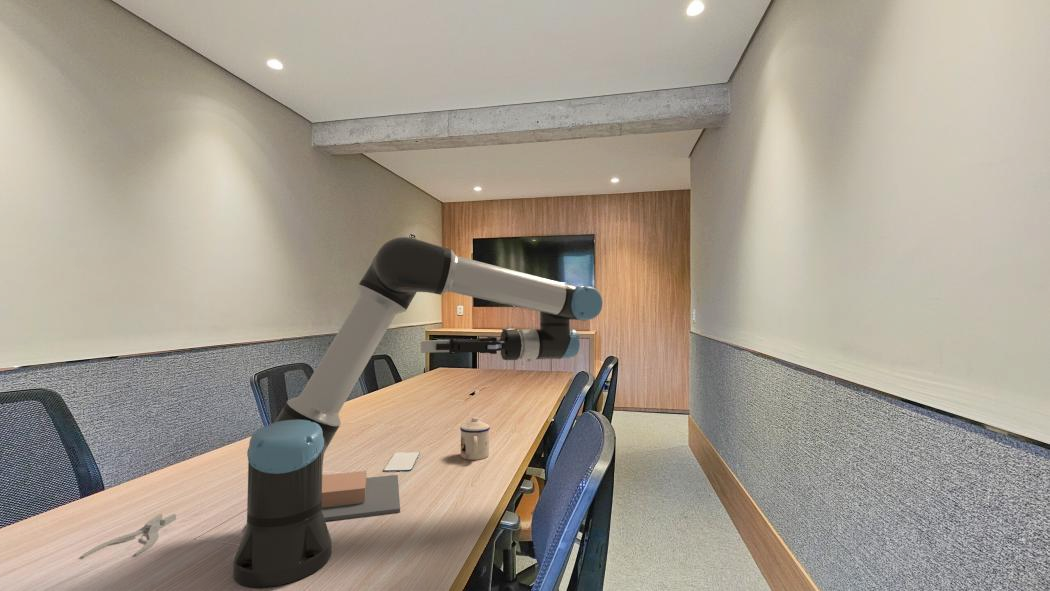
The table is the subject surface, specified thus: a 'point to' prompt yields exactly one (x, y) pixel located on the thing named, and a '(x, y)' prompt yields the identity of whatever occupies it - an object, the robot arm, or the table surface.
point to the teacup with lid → (474, 440)
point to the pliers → (150, 527)
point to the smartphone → (402, 461)
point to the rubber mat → (370, 500)
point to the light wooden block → (343, 488)
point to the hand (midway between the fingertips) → (421, 346)
